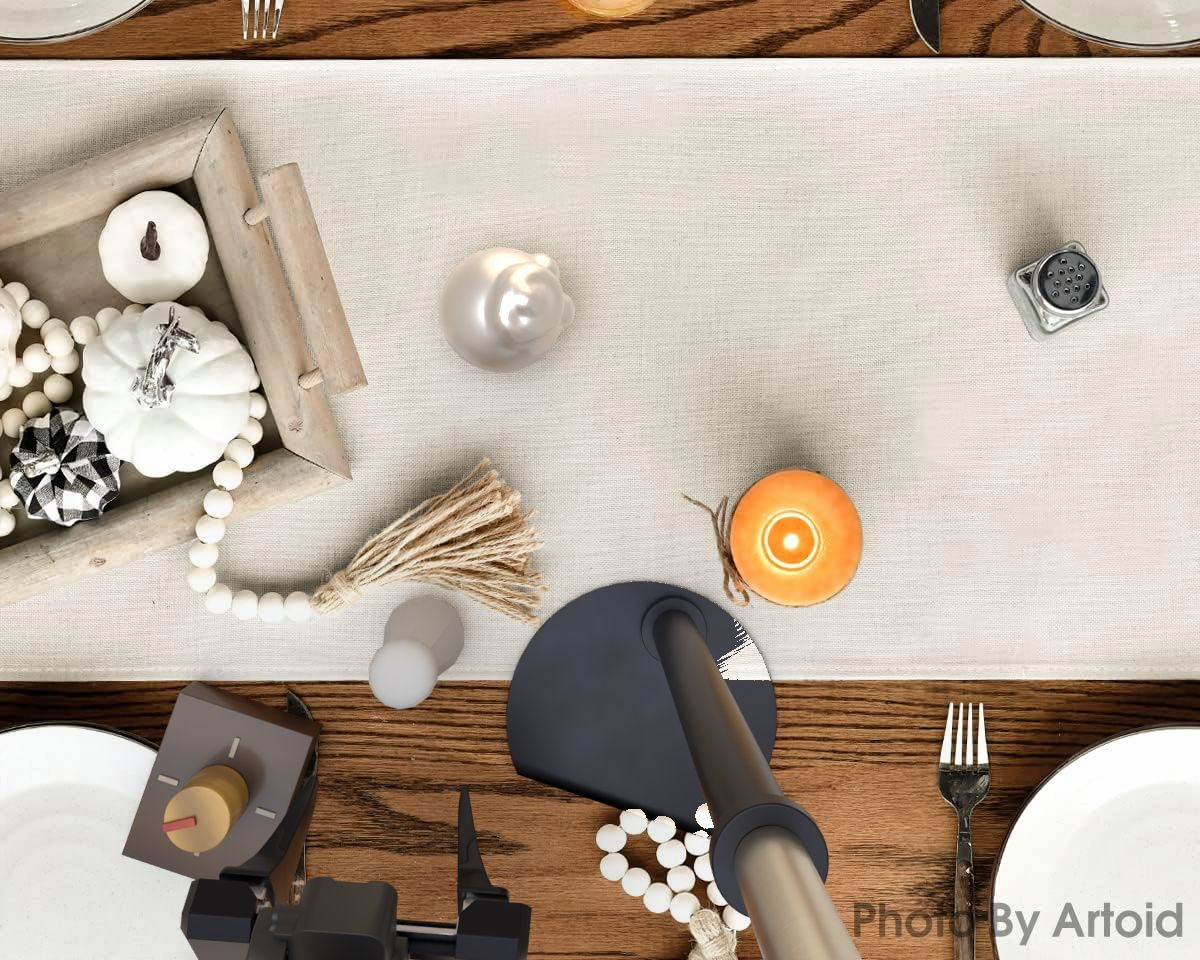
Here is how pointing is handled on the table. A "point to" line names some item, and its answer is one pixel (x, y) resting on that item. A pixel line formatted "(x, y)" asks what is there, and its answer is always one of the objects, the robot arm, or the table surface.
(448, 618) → the salt shaker
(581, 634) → the round base pole stand
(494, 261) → the ghost figurine
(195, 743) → the panel
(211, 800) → the knob
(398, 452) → the table surface
